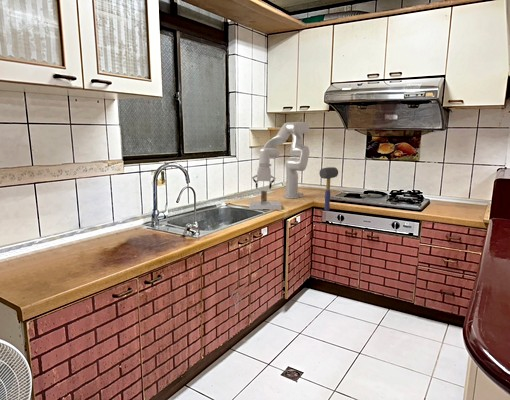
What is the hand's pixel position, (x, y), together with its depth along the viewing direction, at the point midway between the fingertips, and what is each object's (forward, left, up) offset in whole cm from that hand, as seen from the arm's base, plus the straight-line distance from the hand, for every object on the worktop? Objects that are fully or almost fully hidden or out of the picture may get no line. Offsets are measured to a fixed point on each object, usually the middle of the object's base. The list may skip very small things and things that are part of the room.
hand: (263, 188), depth 266 cm
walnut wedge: (-1, -1, -11) cm, 11 cm away
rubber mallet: (-43, +23, -11) cm, 50 cm away
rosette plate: (-1, +13, -11) cm, 17 cm away
